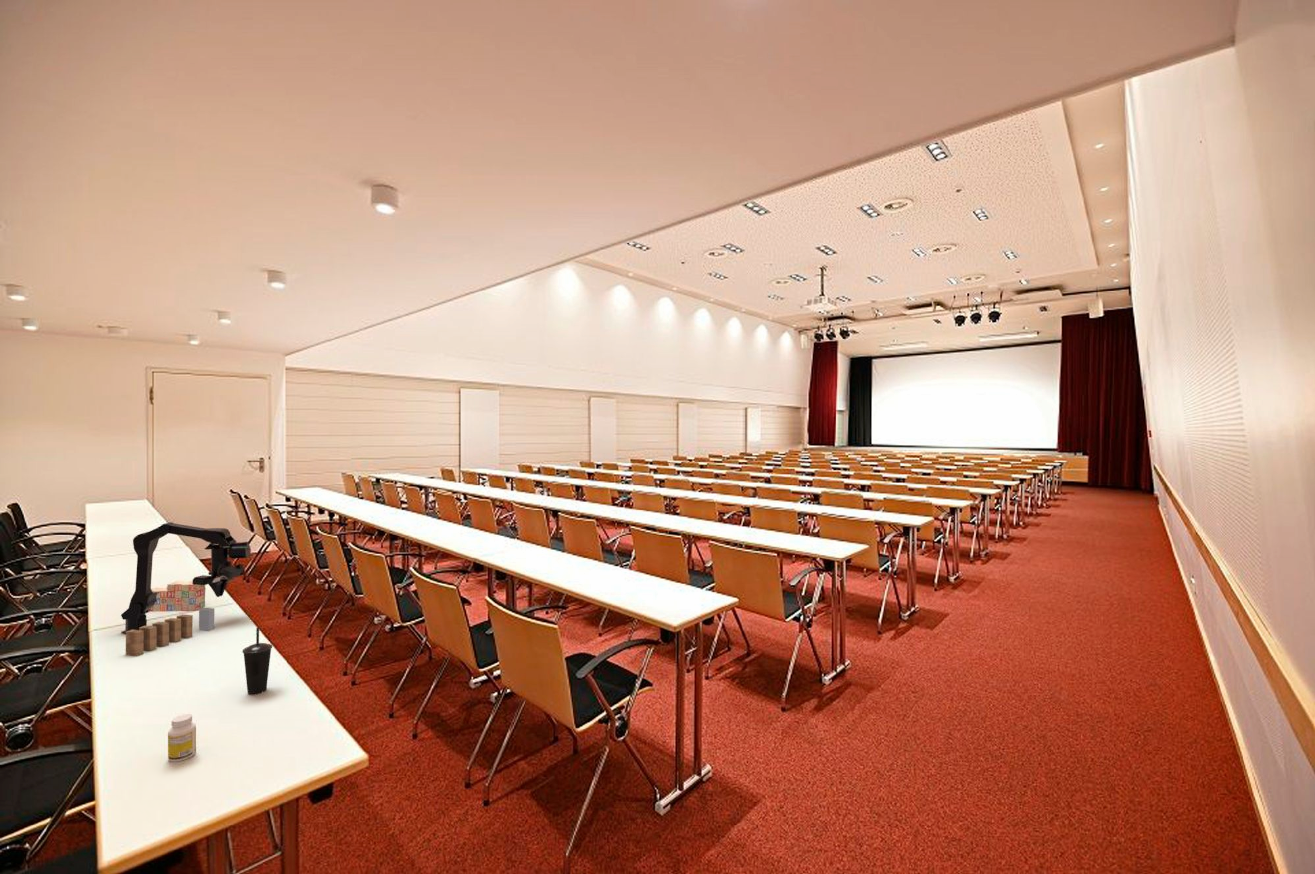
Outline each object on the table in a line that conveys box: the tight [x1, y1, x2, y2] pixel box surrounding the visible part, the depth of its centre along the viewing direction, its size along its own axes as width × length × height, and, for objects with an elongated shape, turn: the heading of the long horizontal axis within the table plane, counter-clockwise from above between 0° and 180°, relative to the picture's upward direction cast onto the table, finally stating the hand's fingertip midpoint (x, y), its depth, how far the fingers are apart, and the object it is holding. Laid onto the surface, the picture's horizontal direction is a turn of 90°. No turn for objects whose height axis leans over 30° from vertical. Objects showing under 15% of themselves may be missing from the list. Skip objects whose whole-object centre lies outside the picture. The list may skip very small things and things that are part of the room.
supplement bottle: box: [167, 713, 197, 763], centre depth 143 cm, size 5×5×10 cm
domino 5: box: [176, 613, 194, 640], centre depth 224 cm, size 5×2×8 cm, turn 79°
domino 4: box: [164, 617, 182, 644], centre depth 220 cm, size 5×2×8 cm, turn 79°
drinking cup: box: [242, 627, 273, 696], centre depth 179 cm, size 8×8×20 cm
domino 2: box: [139, 625, 157, 653], centre depth 211 cm, size 5×2×8 cm, turn 79°
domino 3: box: [151, 621, 170, 648], centre depth 215 cm, size 5×2×8 cm, turn 79°
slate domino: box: [198, 607, 215, 632], centre depth 233 cm, size 5×2×8 cm, turn 79°
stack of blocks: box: [149, 580, 206, 612], centre depth 259 cm, size 21×6×12 cm, turn 94°
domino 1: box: [125, 630, 144, 657], centre depth 207 cm, size 5×2×8 cm, turn 79°
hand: (219, 596), depth 238 cm, fingers closed
